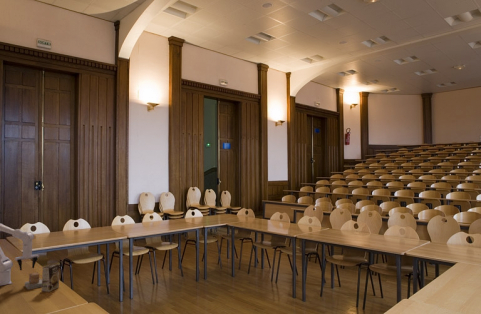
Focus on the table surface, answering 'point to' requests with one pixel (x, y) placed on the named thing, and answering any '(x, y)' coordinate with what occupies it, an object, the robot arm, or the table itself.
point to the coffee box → (50, 277)
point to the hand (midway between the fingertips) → (27, 268)
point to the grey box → (33, 285)
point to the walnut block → (34, 278)
